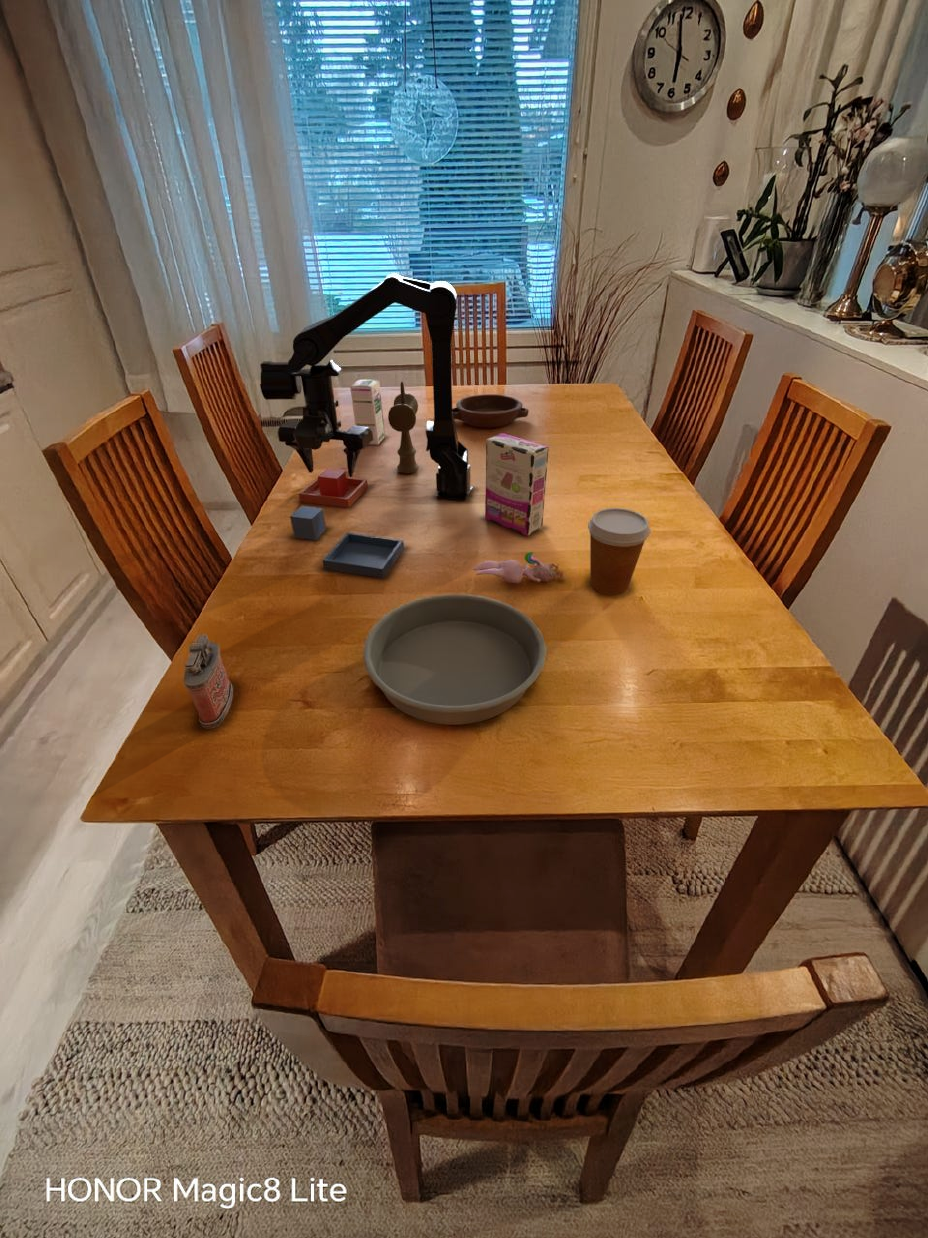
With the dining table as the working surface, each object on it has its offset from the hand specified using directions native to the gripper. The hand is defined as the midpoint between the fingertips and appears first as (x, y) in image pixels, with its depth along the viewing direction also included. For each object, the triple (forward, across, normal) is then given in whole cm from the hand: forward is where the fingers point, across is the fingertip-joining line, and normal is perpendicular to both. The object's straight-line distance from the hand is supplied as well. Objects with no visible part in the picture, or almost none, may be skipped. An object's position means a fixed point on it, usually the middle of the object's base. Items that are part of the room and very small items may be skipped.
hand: (331, 474), depth 124 cm
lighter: (+5, +13, -62) cm, 63 cm away
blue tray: (+5, +17, -23) cm, 29 cm away
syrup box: (+5, -5, +32) cm, 33 cm away
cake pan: (+5, +41, -47) cm, 63 cm away
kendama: (+5, +11, +16) cm, 20 cm away
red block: (+4, 0, 0) cm, 4 cm away
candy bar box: (+5, +40, -3) cm, 41 cm away
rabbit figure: (+5, +45, -23) cm, 51 cm away
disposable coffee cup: (+5, +60, -20) cm, 63 cm away
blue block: (+5, +3, -17) cm, 18 cm away
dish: (+5, +21, +54) cm, 58 cm away
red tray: (+5, 0, 0) cm, 5 cm away
